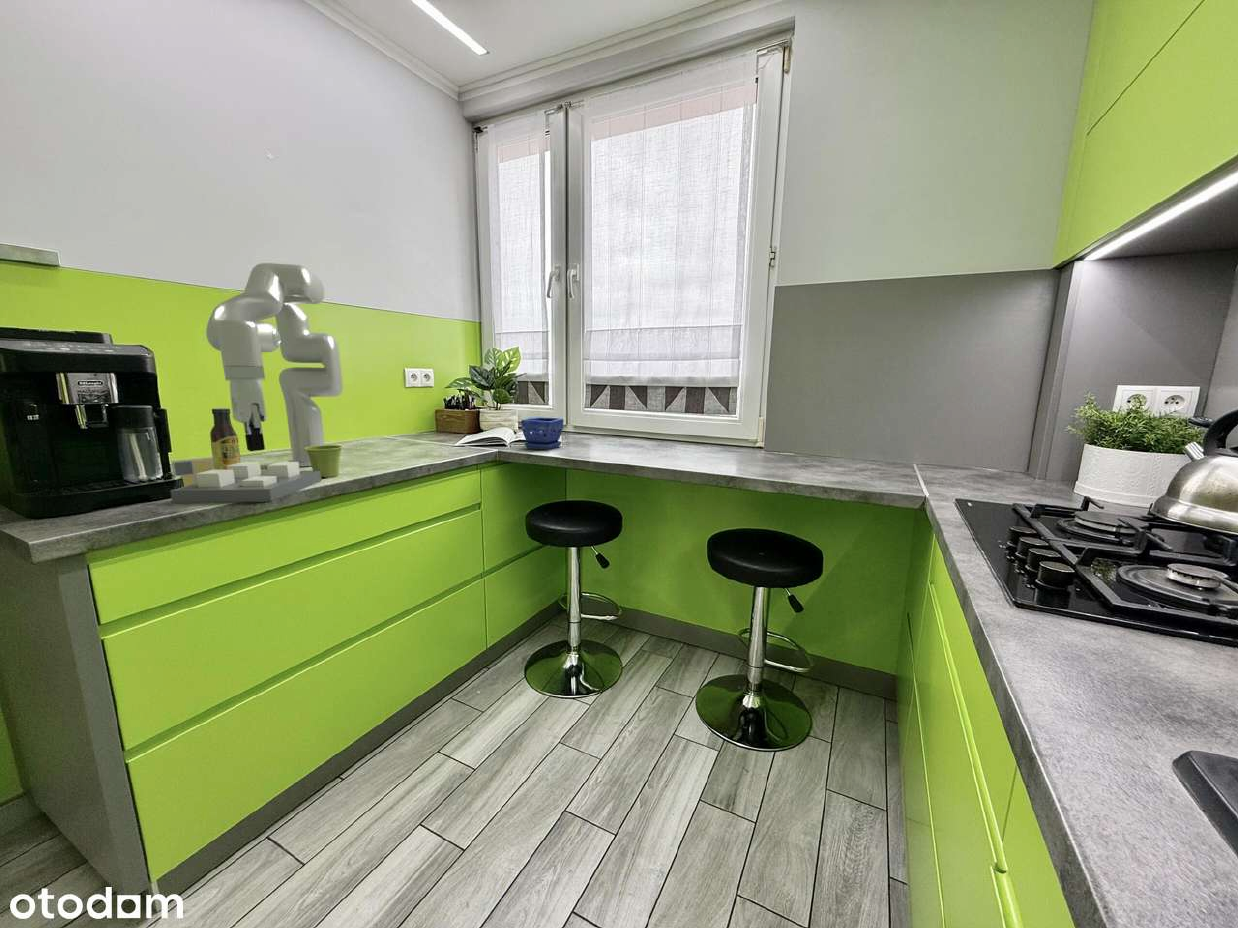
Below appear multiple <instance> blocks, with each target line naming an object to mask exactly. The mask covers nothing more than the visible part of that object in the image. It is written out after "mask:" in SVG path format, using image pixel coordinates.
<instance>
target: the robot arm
mask: <svg viewBox="0 0 1238 928" xmlns="http://www.w3.org/2000/svg"><path fill="white" fill-rule="evenodd" d="M324 298H325V288H324V285H323V282H322V280H321V279H320V277H319V276H318V275H317V274H316V273H314V272H313V271H311V270H310V269H309V268H308V267H305V266H302V265H300V264H293V263H292V264H289V263H288V264H287V263H276V262H275V263H274V262H264V263H263V262H262V263H257V264H256V265H255V266H254V267H252V270H251V271H250V275H249V276H248V279H247V282H246V285H245V288H244V291H243V292H241V293H238V294H236V295H234V296H232V297H230V298H228V299H226V300H224V301H223V302H220V303H219V304H217V305H216V306H215V307H214V308H213V310H212V312H211V313H210V316H209V319H208V320H207V324H206V328H205V330H206V331H205V334H206V335H205V336H206V339H207V341H208V344H209V346H210V347H212V348H213V349H214V350H216V351H219V352H220V353H221V354H220V355H221V361H222V367H223V372H224V373H223V375H224V378H225V379H224V380H225V381H226V382H227V381H229V394H230V395H229V396H230V403H231V411H232V419H233V420H234V421H236V422H238V423H241V424H243V429H244V433H245V434H244V438H245V443H246V448H247V449H246V450H248V451H249V452H257V451H264V450H266V446H265V440H264V434H263V427H262V425H263V424H262V422H263V423H264V422H266V420H267V409H266V403H265V402H266V401H265V396H264V392H263V391H264V390H263V387H262V382H261V381H265V380H266V378H265V377H266V376H265V369H264V363H263V362H264V361H263V356H262V353H273V352H274V351H276V350H277V349H278V348H279V350H280V353H281V357H282V358H283V359H284V361H286V362H289V363H295V364H321V365H323V367H318V366H317V367H316V366H315V367H311V366H310V367H309V366H307V367H306V366H304V367H303V366H297V367H296V366H295V367H294V366H293V367H287V368H285V369H282V370H281V371H280V373H279V375H278V381H279V386H280V389H281V392H282V396H283V399H284V404H285V410H286V417H287V425H288V426H287V427H288V434H289V441H290V449H291V458H292V459H290V460H288V461H287V462H298V463H299V468H300V467H301V468H302V467H312V465H311V462H310V458H309V455H308V454H307V451H306V450H305V448H306V447H311V446H322V445H326V443H325V435H324V427H323V426H324V425H323V417H322V411H321V410H322V409H320V407H319V405H318V404H317V403H316V402H315V401H313V399H312V398H321V397H322V398H325V397H326V398H328V397H330V398H331V397H338V396H340V395H341V394H342V393H343V390H344V389H343V388H344V384H343V383H344V382H343V375H342V368H341V367H342V366H341V359H340V351H339V346H338V342H337V340H336V339H335V337H334V336H333V335H331V334H329V333H323V332H311V331H310V324H309V319H308V315H307V314H306V312H305V311H304V310H303V309H302V308H301V306H299V305H298V304H304V305H305V304H307V305H309V304H310V305H319V304H321V303H322V302H323V300H324ZM273 317H274V318H275V322H276V326H274V325H273V324H272V323H270V322H269V321H268V322H267V321H264V320H267V319H270V318H273Z"/></svg>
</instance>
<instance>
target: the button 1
mask: <svg viewBox="0 0 1238 928" xmlns="http://www.w3.org/2000/svg"><path fill="white" fill-rule="evenodd" d="M196 477H197V483H198V487H223V486H226V485H229V484H232V483H235V479H234V472H233V470H209V471H205V472H201V473H197V474H196Z"/></svg>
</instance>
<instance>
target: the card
mask: <svg viewBox="0 0 1238 928" xmlns="http://www.w3.org/2000/svg"><path fill="white" fill-rule="evenodd" d="M170 462H171V467H172V468H171V469H172V475H173V478H174V477H176V476H181V477H182V479H183V481H184V486H189V485H192V484H196V483H197V477H196V474H197V473H201V472H205V471H209V470H214V464H213V458H212V456H211V457H197V458H189V459H187V458H185V459H176V460H171V461H170Z"/></svg>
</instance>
